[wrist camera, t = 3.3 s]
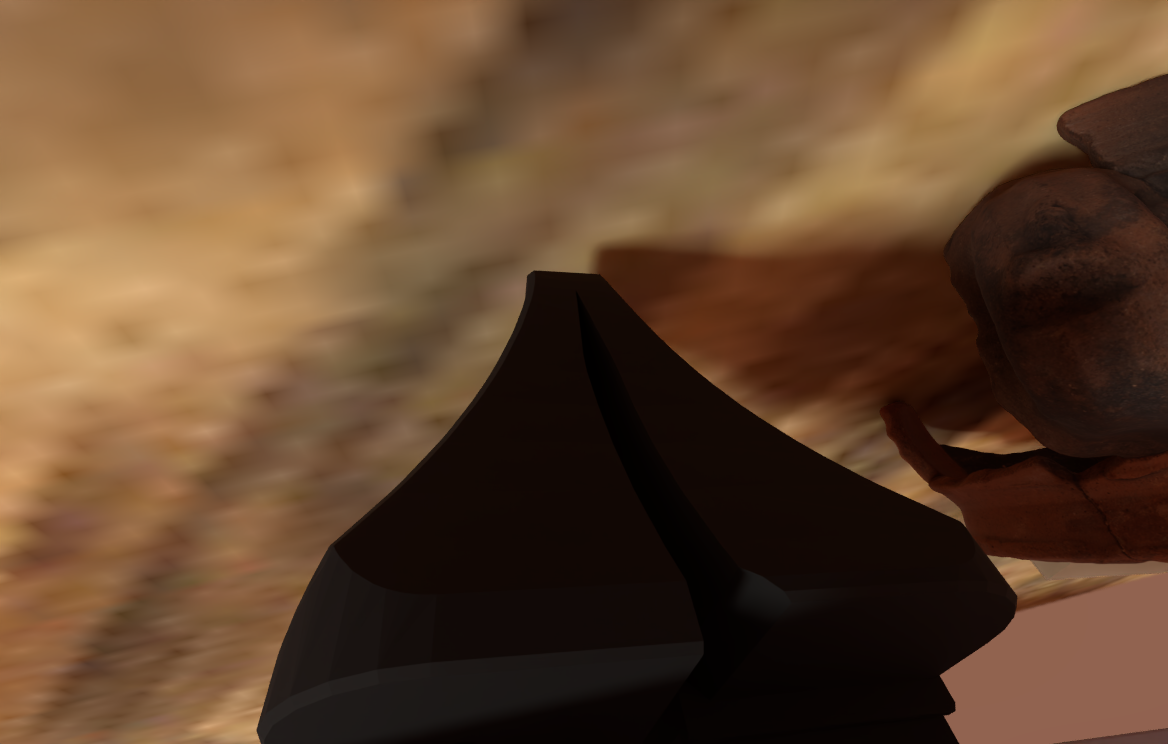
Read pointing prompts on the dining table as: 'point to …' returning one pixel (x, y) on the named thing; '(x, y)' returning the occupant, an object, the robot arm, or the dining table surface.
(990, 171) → the dining table surface
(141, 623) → the dining table surface
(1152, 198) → the pottery mug
